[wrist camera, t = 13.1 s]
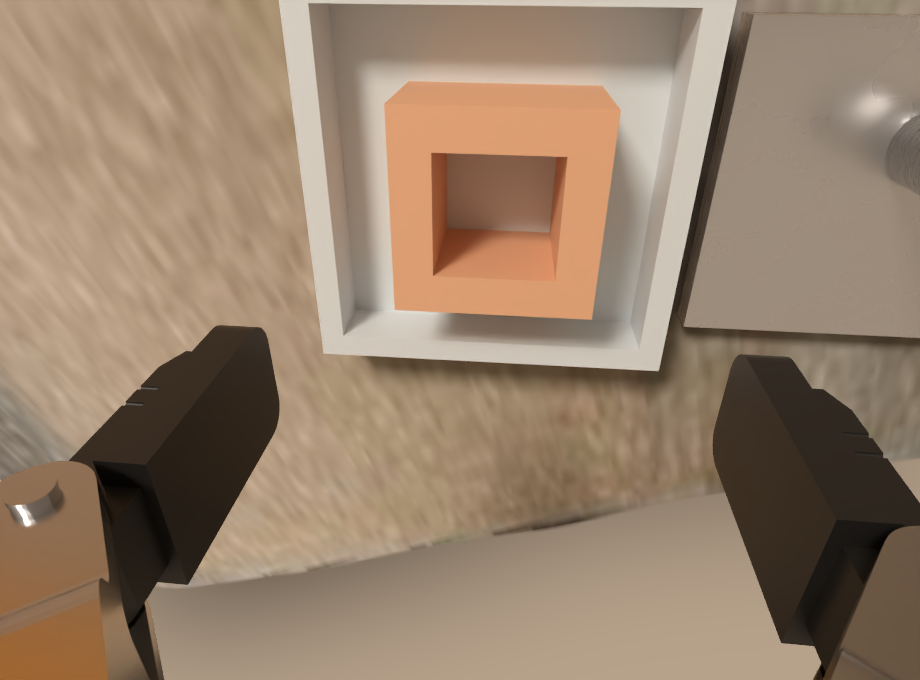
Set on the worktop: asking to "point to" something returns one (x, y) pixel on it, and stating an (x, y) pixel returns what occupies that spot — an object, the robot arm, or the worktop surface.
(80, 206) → the worktop surface
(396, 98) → the ring
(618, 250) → the tray
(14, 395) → the worktop surface
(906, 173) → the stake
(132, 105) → the worktop surface
